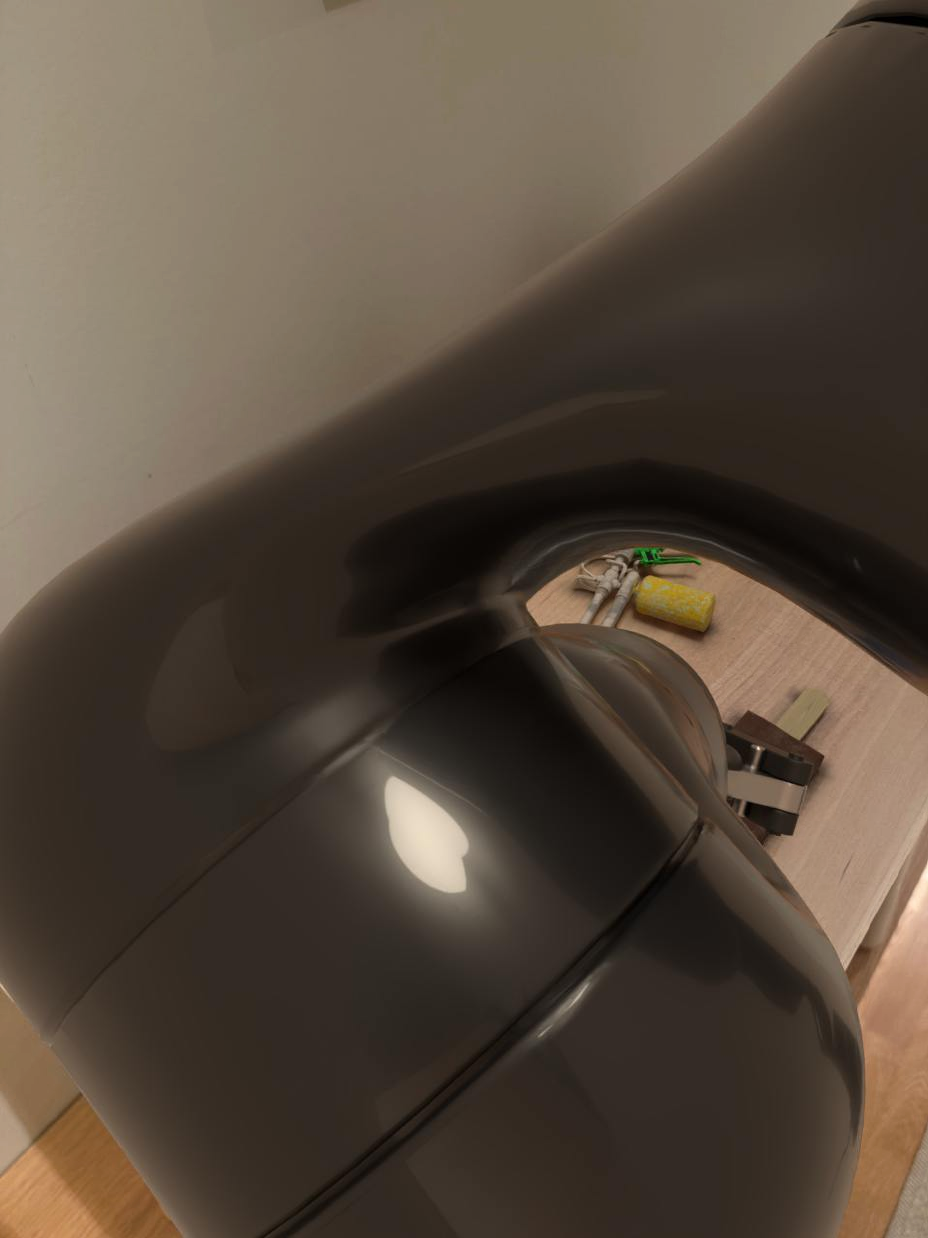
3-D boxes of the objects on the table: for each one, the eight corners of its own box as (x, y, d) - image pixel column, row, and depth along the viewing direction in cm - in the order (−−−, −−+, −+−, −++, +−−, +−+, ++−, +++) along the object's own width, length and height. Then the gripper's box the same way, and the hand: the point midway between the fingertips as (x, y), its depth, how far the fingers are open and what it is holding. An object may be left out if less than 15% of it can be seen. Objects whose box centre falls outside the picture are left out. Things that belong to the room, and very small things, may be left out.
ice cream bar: (781, 680, 69) (653, 826, 61) (787, 663, 68) (657, 810, 60) (855, 723, 67) (732, 880, 59) (862, 706, 66) (738, 865, 58)
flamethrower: (761, 511, 81) (636, 478, 84) (768, 483, 79) (639, 450, 82) (630, 803, 63) (477, 746, 66) (634, 776, 61) (476, 719, 64)
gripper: (891, 708, 26) (825, 683, 43) (381, 560, 29) (505, 590, 46) (803, 994, 27) (771, 859, 43) (309, 817, 30) (458, 755, 47)
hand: (634, 720), depth 45 cm, fingers closed
